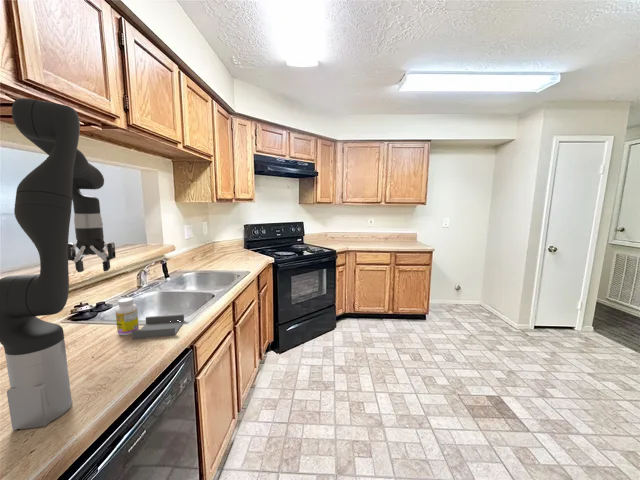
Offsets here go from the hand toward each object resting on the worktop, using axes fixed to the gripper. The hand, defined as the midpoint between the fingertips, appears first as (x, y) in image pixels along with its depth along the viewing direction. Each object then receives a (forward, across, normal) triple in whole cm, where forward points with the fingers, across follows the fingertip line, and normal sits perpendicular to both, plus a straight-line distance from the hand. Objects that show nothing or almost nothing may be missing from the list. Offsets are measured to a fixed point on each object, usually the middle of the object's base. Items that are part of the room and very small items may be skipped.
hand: (93, 271), depth 97 cm
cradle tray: (+24, +20, 0) cm, 32 cm away
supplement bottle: (+24, +9, 0) cm, 26 cm away
